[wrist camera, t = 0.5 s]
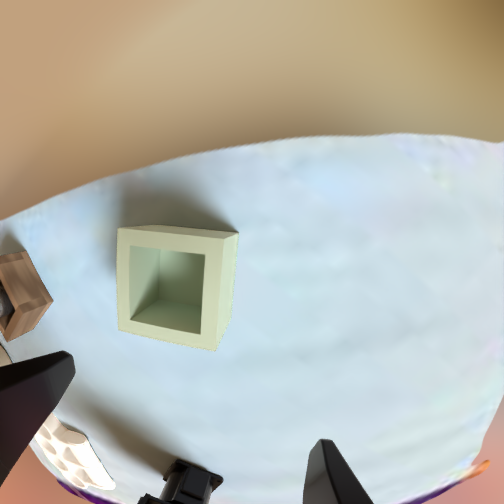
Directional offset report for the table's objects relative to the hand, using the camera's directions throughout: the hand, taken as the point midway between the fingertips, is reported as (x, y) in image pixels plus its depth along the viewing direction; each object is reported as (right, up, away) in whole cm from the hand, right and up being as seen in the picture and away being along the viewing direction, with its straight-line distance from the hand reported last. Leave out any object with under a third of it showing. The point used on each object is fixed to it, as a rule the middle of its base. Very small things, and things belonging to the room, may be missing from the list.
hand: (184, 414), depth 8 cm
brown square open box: (-24, 0, +17) cm, 30 cm away
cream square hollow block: (-3, +4, +15) cm, 15 cm away
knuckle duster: (-27, -27, +21) cm, 44 cm away
